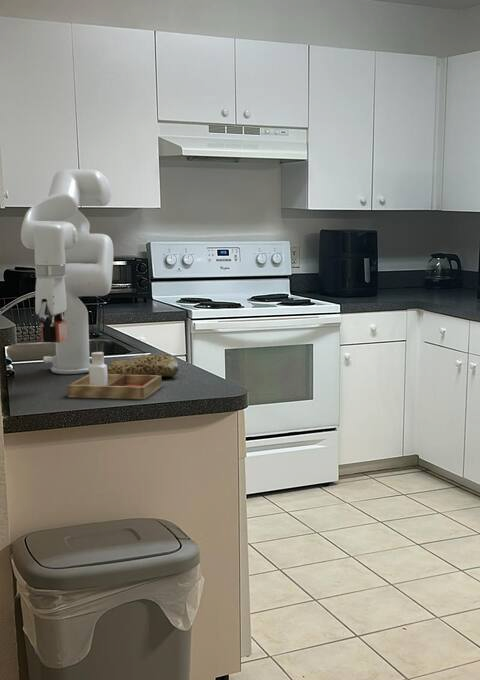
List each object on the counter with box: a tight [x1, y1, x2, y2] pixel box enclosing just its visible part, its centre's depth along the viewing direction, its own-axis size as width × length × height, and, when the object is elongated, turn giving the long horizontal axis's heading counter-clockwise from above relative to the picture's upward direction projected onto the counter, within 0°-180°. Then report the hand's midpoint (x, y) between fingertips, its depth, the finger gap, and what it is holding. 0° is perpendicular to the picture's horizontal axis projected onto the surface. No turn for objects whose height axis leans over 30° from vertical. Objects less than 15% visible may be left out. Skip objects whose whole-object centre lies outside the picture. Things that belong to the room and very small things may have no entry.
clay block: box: [39, 321, 67, 344], centre depth 238 cm, size 5×5×5 cm
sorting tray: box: [67, 373, 163, 400], centre depth 237 cm, size 20×16×3 cm
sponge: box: [107, 353, 180, 377], centre depth 254 cm, size 13×8×20 cm
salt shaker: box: [88, 351, 108, 386], centre depth 237 cm, size 4×4×10 cm
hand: (54, 339), depth 238 cm, fingers closed on clay block, 5 cm apart
